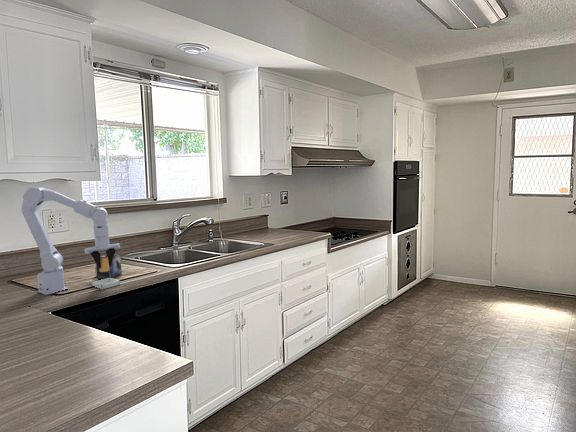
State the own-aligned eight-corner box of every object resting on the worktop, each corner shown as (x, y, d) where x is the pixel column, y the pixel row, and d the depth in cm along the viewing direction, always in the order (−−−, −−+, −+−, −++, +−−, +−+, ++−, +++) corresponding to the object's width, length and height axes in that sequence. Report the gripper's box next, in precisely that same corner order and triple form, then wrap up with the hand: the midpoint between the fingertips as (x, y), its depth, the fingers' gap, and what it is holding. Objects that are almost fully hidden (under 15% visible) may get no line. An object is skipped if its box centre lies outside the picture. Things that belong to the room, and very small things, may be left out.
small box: (109, 280, 198) (107, 257, 196) (96, 280, 199) (94, 257, 198) (122, 274, 208) (121, 252, 207) (110, 274, 209) (108, 252, 208)
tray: (101, 289, 183) (101, 285, 183) (91, 286, 189) (91, 282, 188) (120, 284, 190) (119, 280, 190) (110, 281, 195) (109, 277, 195)
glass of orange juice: (100, 272, 186) (98, 257, 185) (99, 270, 189) (97, 256, 189) (110, 271, 188) (108, 256, 187) (108, 269, 191) (107, 255, 191)
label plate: (95, 277, 204) (94, 266, 204) (95, 276, 205) (94, 266, 204) (107, 274, 209) (107, 264, 208) (107, 274, 209) (106, 263, 209)
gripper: (114, 232, 194) (117, 262, 196) (80, 237, 184) (83, 269, 186) (121, 234, 189) (123, 264, 191) (86, 239, 179) (90, 271, 181)
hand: (104, 267), depth 188 cm, fingers closed on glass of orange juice, 4 cm apart
